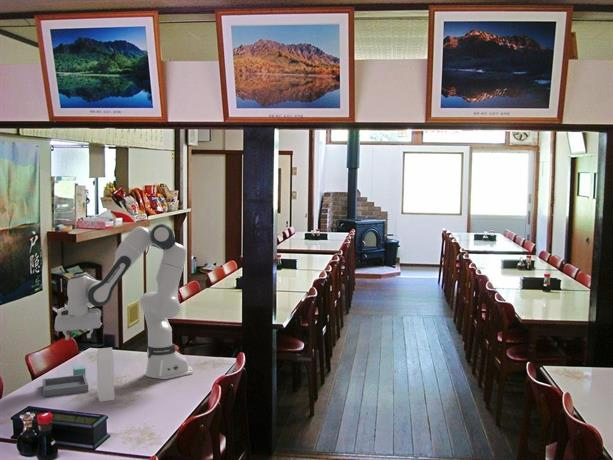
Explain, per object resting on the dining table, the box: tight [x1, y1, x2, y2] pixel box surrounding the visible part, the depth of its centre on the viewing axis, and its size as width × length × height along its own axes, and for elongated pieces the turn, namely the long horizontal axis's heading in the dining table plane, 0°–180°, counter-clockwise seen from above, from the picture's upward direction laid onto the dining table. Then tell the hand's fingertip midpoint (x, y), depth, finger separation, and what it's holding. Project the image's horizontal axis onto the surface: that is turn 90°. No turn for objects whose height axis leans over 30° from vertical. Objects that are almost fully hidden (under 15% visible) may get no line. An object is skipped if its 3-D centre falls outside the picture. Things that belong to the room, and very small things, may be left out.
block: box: [72, 365, 86, 376], centre depth 288 cm, size 5×5×5 cm
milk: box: [96, 347, 115, 403], centre depth 261 cm, size 6×6×22 cm
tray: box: [42, 373, 89, 398], centre depth 273 cm, size 18×16×3 cm
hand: (78, 338), depth 286 cm, fingers open, 8 cm apart
